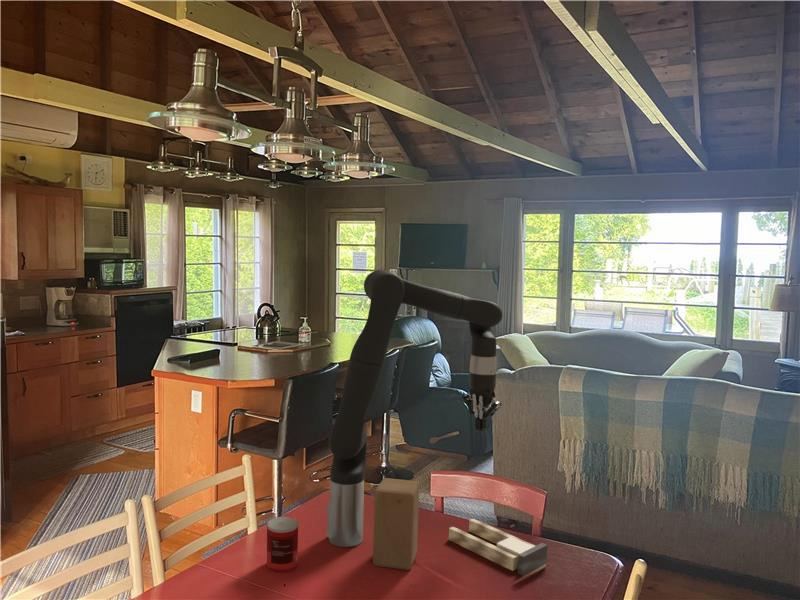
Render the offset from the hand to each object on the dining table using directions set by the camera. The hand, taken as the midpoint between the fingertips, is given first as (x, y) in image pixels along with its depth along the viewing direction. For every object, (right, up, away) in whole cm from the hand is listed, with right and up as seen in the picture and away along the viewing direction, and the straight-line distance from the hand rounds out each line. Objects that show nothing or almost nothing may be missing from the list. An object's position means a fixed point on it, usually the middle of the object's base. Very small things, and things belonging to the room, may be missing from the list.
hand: (480, 430), depth 182 cm
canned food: (-53, -30, -22) cm, 65 cm away
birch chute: (+1, -30, -12) cm, 32 cm away
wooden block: (-24, -30, -18) cm, 43 cm away
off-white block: (+7, -30, -18) cm, 35 cm away
